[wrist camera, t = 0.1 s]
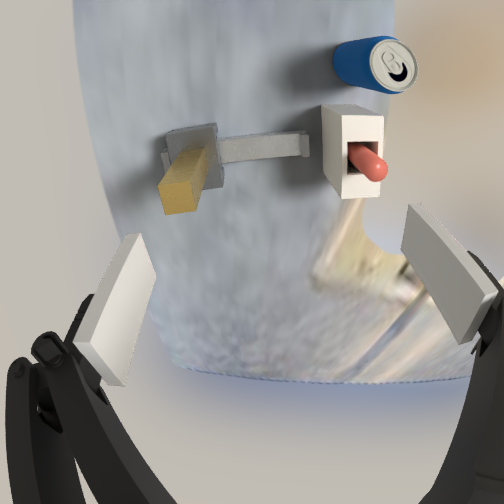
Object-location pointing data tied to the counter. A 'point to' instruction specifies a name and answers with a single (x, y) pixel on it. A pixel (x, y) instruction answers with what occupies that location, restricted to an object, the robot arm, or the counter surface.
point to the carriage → (190, 167)
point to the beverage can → (376, 64)
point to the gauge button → (366, 161)
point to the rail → (257, 147)
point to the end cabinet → (335, 147)
